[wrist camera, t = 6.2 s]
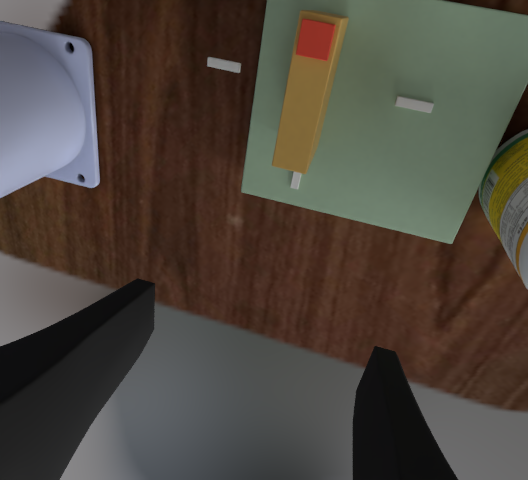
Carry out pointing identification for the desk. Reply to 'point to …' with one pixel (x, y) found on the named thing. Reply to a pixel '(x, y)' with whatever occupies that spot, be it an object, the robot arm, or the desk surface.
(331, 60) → the block
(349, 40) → the lock plate
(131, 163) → the desk surface
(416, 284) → the desk surface
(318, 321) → the desk surface
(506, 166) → the supplement bottle
